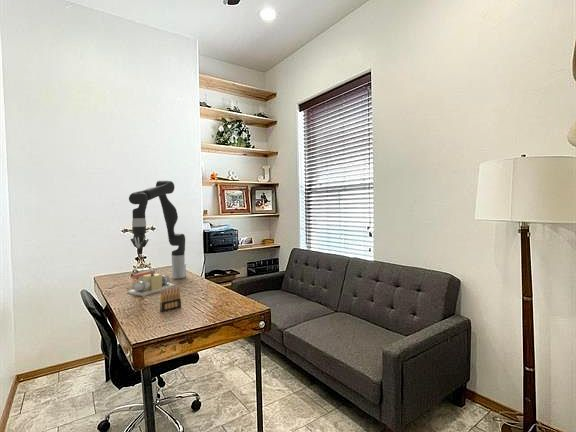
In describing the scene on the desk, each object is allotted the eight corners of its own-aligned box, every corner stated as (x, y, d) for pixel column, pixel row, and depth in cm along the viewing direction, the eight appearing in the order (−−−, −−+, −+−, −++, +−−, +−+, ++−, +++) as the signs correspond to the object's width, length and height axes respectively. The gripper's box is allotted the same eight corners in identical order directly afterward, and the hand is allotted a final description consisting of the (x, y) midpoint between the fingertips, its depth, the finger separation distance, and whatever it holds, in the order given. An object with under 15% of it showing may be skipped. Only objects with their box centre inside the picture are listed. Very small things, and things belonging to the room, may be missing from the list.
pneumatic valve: (153, 284, 222) (152, 266, 221) (135, 286, 214) (134, 269, 214) (150, 282, 226) (150, 265, 226) (132, 285, 218) (132, 267, 218)
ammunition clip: (161, 312, 162) (161, 289, 162) (159, 311, 164) (159, 288, 163) (181, 307, 170) (180, 285, 170) (179, 307, 171) (179, 284, 171)
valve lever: (152, 272, 209) (152, 269, 209) (156, 272, 207) (156, 269, 207) (132, 277, 194) (132, 274, 194) (136, 277, 193) (136, 274, 193)
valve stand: (161, 284, 222) (161, 268, 221) (176, 286, 215) (175, 270, 215) (127, 293, 199) (126, 276, 198) (142, 296, 192) (142, 278, 192)
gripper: (152, 225, 194) (152, 254, 195) (136, 225, 200) (137, 252, 200) (141, 226, 187) (142, 255, 188) (126, 225, 193) (126, 254, 194)
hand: (139, 254), depth 194 cm, fingers closed
